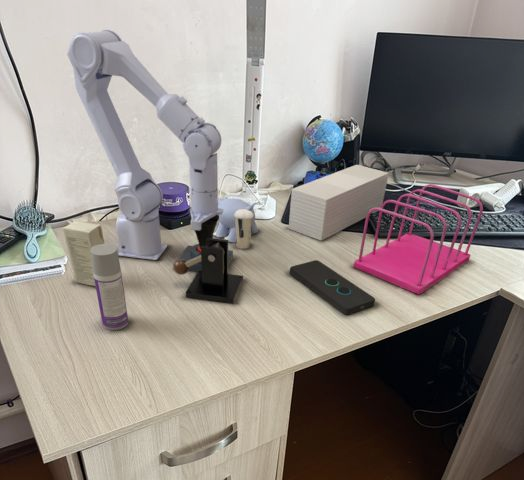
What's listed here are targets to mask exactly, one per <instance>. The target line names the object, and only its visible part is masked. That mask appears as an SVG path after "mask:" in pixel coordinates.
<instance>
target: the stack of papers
mask: <svg viewBox="0 0 524 480" xmlns="http://www.w3.org/2000/svg"><path fill="white" fill-rule="evenodd" d="M389 174H390V172H387V171H383V170H379V169H375V168H372V167H367V166H364V165H361V164H355V165H352V166H350V167H346V168H344V169H341V170H338V171H336V172H334V173H330V174H328V175H325V176H322V177H320V178H317V179H314V180H312V181H309V182H307V183H303V184H301V185H298V186H296V187H293V188H291V194H290V195H291V196H290V205H289V207H290V208H289V218H288V220H289V222H288V227H287V228H288V230H291V231H294V232H297V233H299V234H302V235H304V236H307V237H310V238H312V239H316V240H318V241H320V242H321V241H324V240H326V239H327V238H329V237H331V236H333V235H335V234H337V233H339V232H341V231H343V230H345V229H346V228H348V227H350V226H352V225H354V224H356V223H358V222H360V221H362V220H364V219H366V216H367V214H368V212H369V211H370V210H371V209H373V208H381V206H382V204H383V203H384V200H385V193H386V189H387V184H388V178H389ZM377 212H378V211H377V210H375V211H373V212H372V213H373V214H376V213H377Z"/></svg>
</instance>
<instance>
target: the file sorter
mask: <svg viewBox="0 0 524 480" xmlns="http://www.w3.org/2000/svg"><path fill="white" fill-rule="evenodd" d="M429 187H431V188H435V189H439V190H442V191H444V192H448V193H451V194H453V195H456V196H457V195H458V196H460V197H462V198H466V199H469V200H472V201H475V202H476V204H478V206H479V213H478V216H477V219H476V221H475V223H474V224H475V225H474V227H473V228H472V229H473V230H472V233H471V235H470V238H469V241H468V244H467V246H466V249H465V251H462V247H463V245H464V241H465V238H466V236H467V232H468V230H469V226H470V224H471V222H472V221H471V220H472V215H473V214H472V213H473V212H472V210H471V207H470V206H469V205H467V204H466V203H463V202H461V201H459V200H455V199H452V198H449V197H447V196H443V195H440V194H437V193H434V192H432V191H431V192H430V191H428V190H426V189H427V188H429ZM416 193H419V195H415V194H416ZM423 194H426V195H428V196H431V197H435V198H438V199H441V200H443V201H447V202H450V203H452V204H456V205H459V206H461V207H463V208H464V209H465V210H467V213H468V218H467V220H466V221H467V222H466V225H465V228H464V230H463V233H462V235H461V239H460V242H459V244H458V248H457V249H456V248H454V246H455V244H456V241H457V238H458V235H459V233H460V229H461V226H462V217H461V215H460V213H459V212H457V210H455V209H453V208H450V207H448V206H445V205H443V204H440V203H437V202H435V201H432V200H429V199H427V198H423V197H422V196H423ZM405 197H407V200H406V203H405V202H401V200H402V199H403V198H405ZM411 198H412V199H415V200H417V202H416V205H415V206H414V205H411V204H410V202H411ZM421 202H424V203H426V204H429V205H432V206H435V207H436V208H439V209H442V210H445V211H447V212H450V213H452V214H453V215H455V216H456V218H457V226H456V229H455V232H454V235H453V238H452V240H451V244H450V246H448V245H445V244H444V241H445V237H446V233H447V230H448V229H447V228H448V225H447V221H446V219H445V218H444V217H443V216H442V215H441V214H439V213H436V212H434V211H431V210H428V209H424V208H421V207H419V206H420V204H421ZM390 203H391V204H392V203H393V204H395V207H394V211H390V210H388V209H384V208H385V206H386V205H387V204H390ZM399 206H402V207H405V208H404V211H403V214H400V213H398V209H399ZM408 209H410V210H411V209H412V210H413V211H414V213H413V216H412V217H410V216H407V213H408ZM375 210H377V212H379V213H378V219H377V224H376V230H375V236H374V242H373V246H372V251H371V252H369V253H367V254H365V255H363V254H364V253H363V252H364V248H365V242H366V236H367V231H368V224H369V220H370V216H371V215H370V214H371V213H372V212H373V211H375ZM418 212H420V213H423V214H427V215H430V216H432V217H436V218H438V219H439V220H441V221H442V224H443V228H442V229H443V230H442V234H441V238H440V241H439V242H437V241H434V238H435V235H434V230H433V228H432V226H430V225H429V224H428V223H426V222H423V221H421V220H419V219H416V218H417V215H418ZM483 212H484V207H483V203H482V201H481V200H480V199H479V198H477V197H474V196H471V195H468V194H465V193H463V192H459V191H457V190H454V189H451V188H447V187H443V186H440V185H437V184H434V183H428V184H425V185H424V186H423V187H422V188H419V189H418V188H417V189H414V190H412V191H411V192H410V193H404V194H402V195H400V196H399V197H398V199H397V200H395V199H387V200H385V201H383V204H382V206H381V208H373V209H371V210H370V211H369V212H368V214H367V216H366V218H365V221H364V225H363V226H364V227H363V231H362V232H363V233H362V238H361V244H360V250H359V255H358V258H357V259H355V260H354V262H353V266H352V267H353V268H355V269H357V270H359V271H362V272H364V273H367V274H369V275H371V276H374V277H376V278H379V279H381V280H384V281H385V282H388V283H390V284H393V285H396V286H397V287H399V288H400V287H401V288H402V289H405V290H407V291H409V292H412V293H414V294H416V295H421V294H422V293H424V292H425V291H426V290H428V289H429V288H431V287H432V286H434V285H435V284H437V283H438V282H440V281H441V280H443V279H444V278H445V277H447V276H448V275H450V274H451V273H453V272H454V271H456V270H457V269H458V268H460V267H461V266H463V265H464V264H466V263H467V262H469V261H470V258H471V254H470V253H469V251H470V249H471V245H472V243H473V240H474V237H475V234H476V231H477V229H478V226H479V223H480V221H481V218H482V215H483ZM383 213H385V214H388V215H391V216H392V218H391V221H390V224H389V225H390V226H389V230H388V233H387V237H386V242H385V244H384V245H383V246H380V247H378V248H377V244H378V237H379V232H380V227H381V222H382V216H383ZM396 218H400V219H401V222H400V227H399V228H400V229H399V231H398V236H397V238H396V239H394V240H392V241H390V239H391V235H392V231H393V228H394V224H395V221H396ZM405 220H406V221H408V222H410V223H411V224H410V227H409V231H408V233H409V234H407V233H404V234H403V235H402V233H403V230H404V225H405V222H406V221H405ZM415 224H418V225H421V226H423V227H425V228H426V229H427V230H428V231H429V234H430V238H429V239H428V238H425V237H422V236H419V235H416V234H413V233H412V232H413V230H414V229H413V228H414V225H415Z"/></svg>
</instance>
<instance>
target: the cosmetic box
mask: <svg viewBox="0 0 524 480" xmlns="http://www.w3.org/2000/svg"><path fill="white" fill-rule="evenodd" d="M62 230H63V235H64V238H65V243H66V247H67V251H68V256H69V259H70V264H71V268H72V269H71V270H72V273H73V277H74V281H75V283H77V284H81V285H82V284H83V285H87V286H91V287H96V286H95V281H94V275H93V268H92V261H91V255H90V249H91V248H92V247H93V246H95V245H99V244H105V239H104V234H103V228H102V224H98V223H92V222H87V221H81V220H75V221H73V222H71V223H69V224H66V225H65V226H63V227H62Z"/></svg>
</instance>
